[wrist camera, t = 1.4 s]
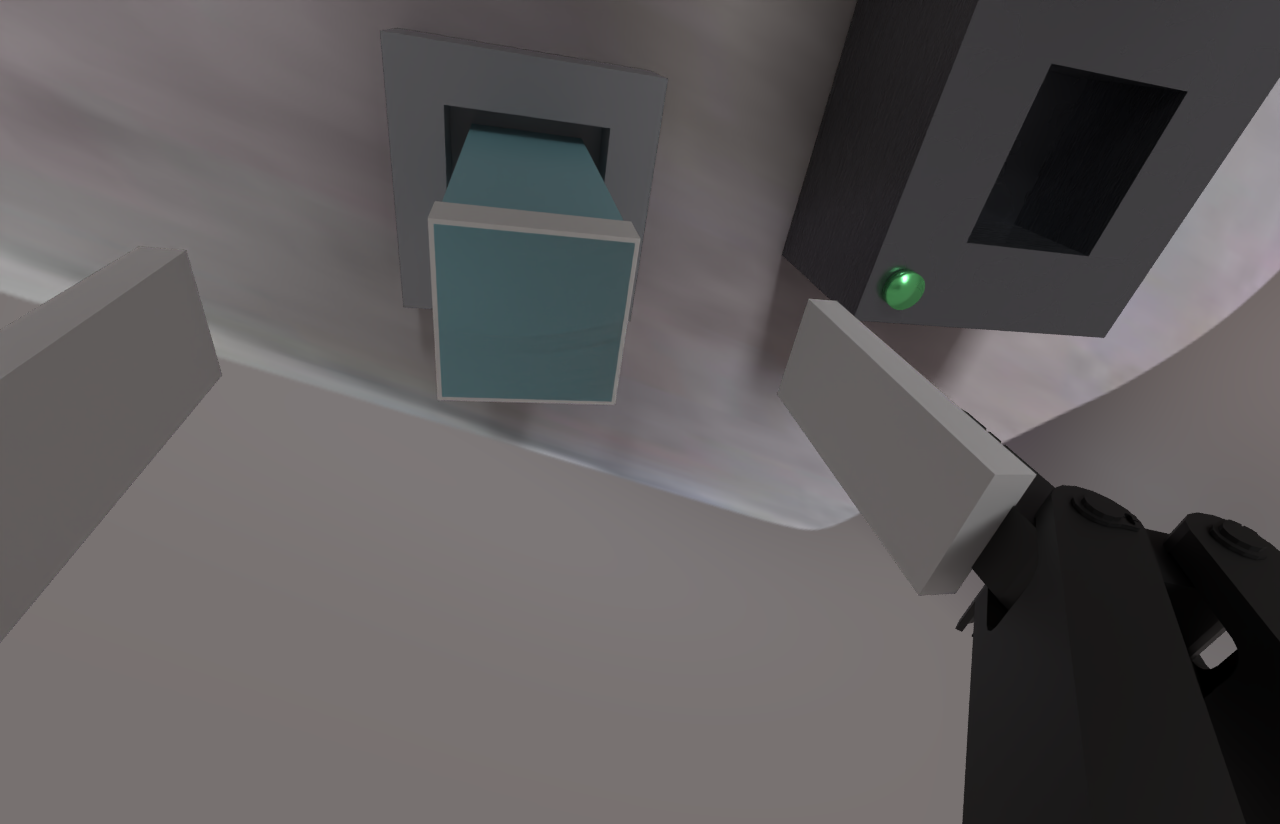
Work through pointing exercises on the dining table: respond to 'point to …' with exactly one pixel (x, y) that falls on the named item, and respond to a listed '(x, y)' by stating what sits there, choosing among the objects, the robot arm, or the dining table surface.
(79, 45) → the dining table surface
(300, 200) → the dining table surface
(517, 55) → the square frame socket
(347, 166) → the dining table surface
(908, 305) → the port
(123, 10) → the dining table surface
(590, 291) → the plug
